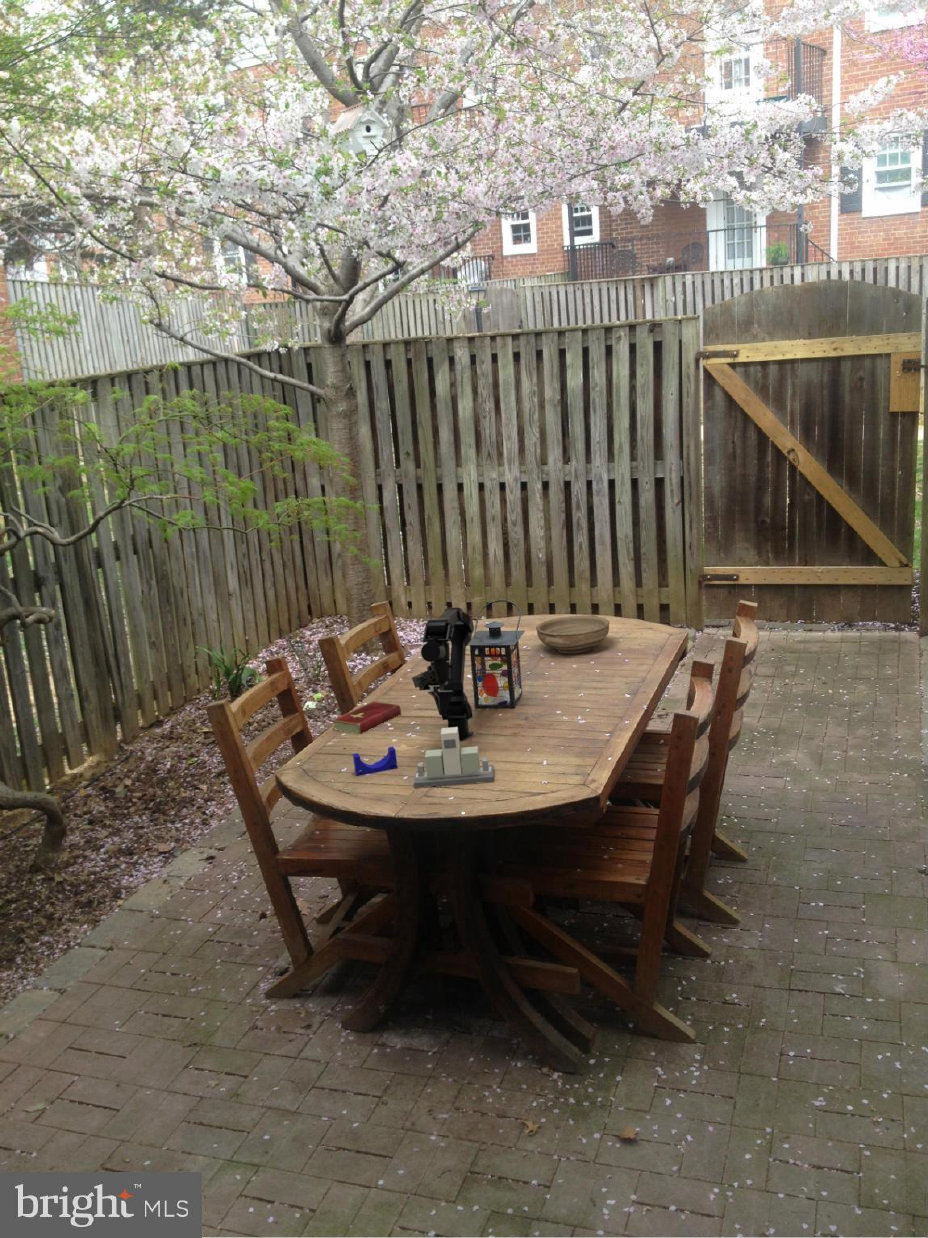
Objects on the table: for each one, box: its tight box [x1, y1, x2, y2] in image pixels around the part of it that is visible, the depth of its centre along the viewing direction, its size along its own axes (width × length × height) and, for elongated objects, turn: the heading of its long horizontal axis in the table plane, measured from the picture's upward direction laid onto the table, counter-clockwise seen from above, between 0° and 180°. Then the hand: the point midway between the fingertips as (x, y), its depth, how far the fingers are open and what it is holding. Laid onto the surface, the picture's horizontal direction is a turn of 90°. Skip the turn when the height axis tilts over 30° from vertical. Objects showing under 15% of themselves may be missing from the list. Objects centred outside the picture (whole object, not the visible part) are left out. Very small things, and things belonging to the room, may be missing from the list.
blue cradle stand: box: [352, 746, 398, 777], centre depth 311 cm, size 12×4×6 cm, turn 106°
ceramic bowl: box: [535, 614, 610, 654], centre depth 418 cm, size 37×29×10 cm
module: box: [440, 727, 462, 775], centre depth 295 cm, size 5×4×12 cm
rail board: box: [413, 745, 495, 789], centre depth 297 cm, size 9×22×8 cm, turn 88°
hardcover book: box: [331, 700, 402, 735], centre depth 354 cm, size 12×21×4 cm, turn 144°
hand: (441, 715), depth 313 cm, fingers closed
